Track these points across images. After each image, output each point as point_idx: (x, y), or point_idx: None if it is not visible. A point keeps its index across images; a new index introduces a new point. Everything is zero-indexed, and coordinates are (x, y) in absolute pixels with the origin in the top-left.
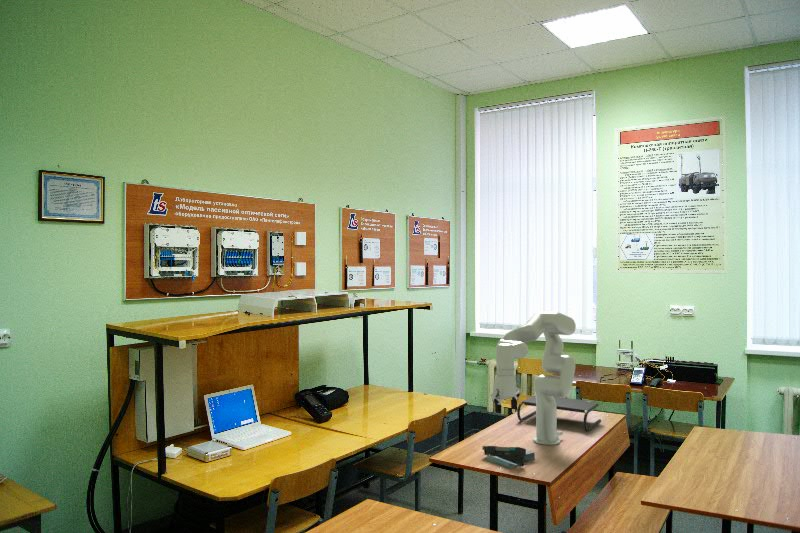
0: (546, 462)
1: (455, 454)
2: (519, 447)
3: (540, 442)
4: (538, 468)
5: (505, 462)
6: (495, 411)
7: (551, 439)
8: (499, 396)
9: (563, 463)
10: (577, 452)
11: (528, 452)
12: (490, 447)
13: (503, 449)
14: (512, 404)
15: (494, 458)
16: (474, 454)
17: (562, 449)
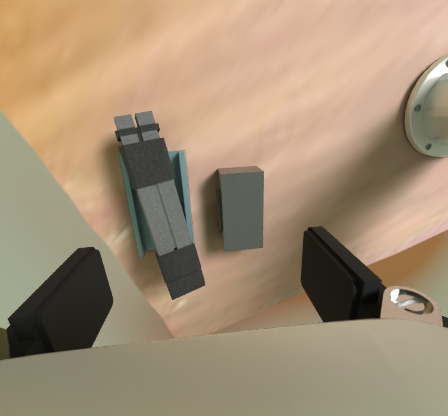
0: (271, 260)
1: (28, 19)
2: (178, 288)
3: (408, 123)
4: (216, 284)
5: (137, 245)
6: (77, 253)
7: (445, 144)
8: (107, 360)
9: (300, 284)
10: (405, 239)
11: (244, 240)
12: (125, 167)
13: (148, 227)
14: (321, 272)
15: (127, 196)
16: (112, 73)
17: (403, 199)
